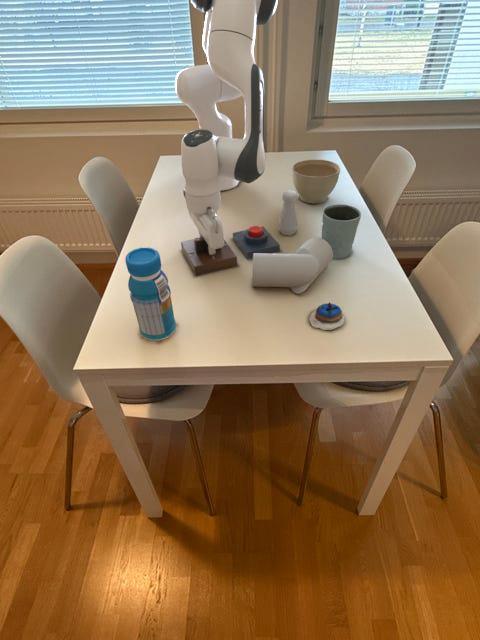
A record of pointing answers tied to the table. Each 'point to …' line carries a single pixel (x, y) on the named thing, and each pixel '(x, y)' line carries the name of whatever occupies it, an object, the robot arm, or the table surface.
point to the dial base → (208, 258)
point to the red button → (255, 231)
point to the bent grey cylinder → (292, 266)
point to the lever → (200, 245)
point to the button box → (255, 243)
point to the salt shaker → (288, 213)
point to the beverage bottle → (150, 294)
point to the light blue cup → (340, 228)
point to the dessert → (327, 317)
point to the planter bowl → (315, 179)
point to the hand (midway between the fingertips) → (207, 247)
